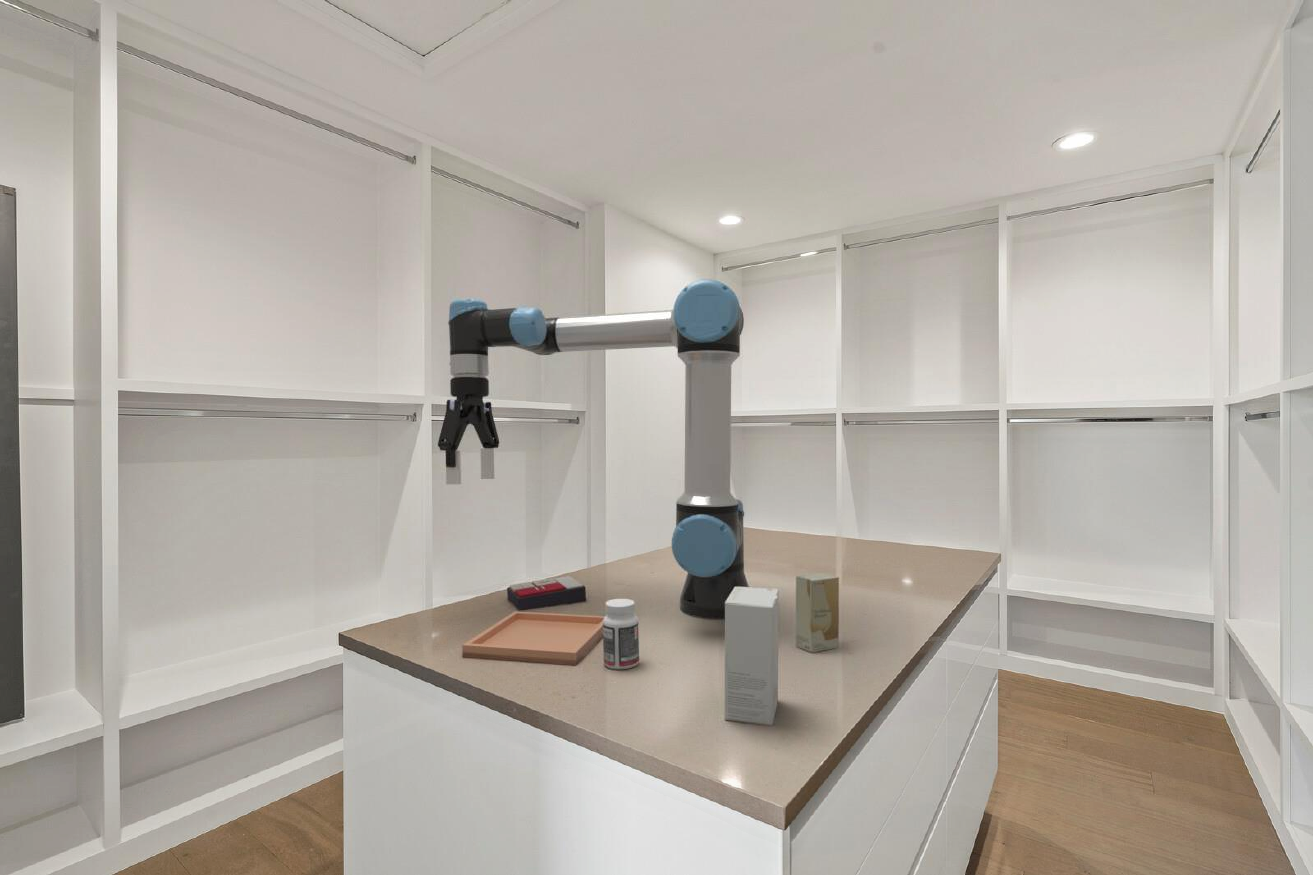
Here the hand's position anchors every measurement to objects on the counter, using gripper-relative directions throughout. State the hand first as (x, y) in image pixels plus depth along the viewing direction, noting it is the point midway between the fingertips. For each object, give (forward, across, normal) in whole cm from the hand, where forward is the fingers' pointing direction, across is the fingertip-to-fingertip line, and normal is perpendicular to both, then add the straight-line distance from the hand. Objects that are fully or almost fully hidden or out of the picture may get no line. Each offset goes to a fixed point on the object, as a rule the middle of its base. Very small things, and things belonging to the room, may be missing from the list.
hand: (471, 481), depth 130 cm
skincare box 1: (+28, +33, +59) cm, 73 cm away
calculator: (+28, -14, +10) cm, 33 cm away
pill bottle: (+28, +20, +37) cm, 50 cm away
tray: (+28, +12, +20) cm, 36 cm away
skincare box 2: (+28, +6, +68) cm, 74 cm away
